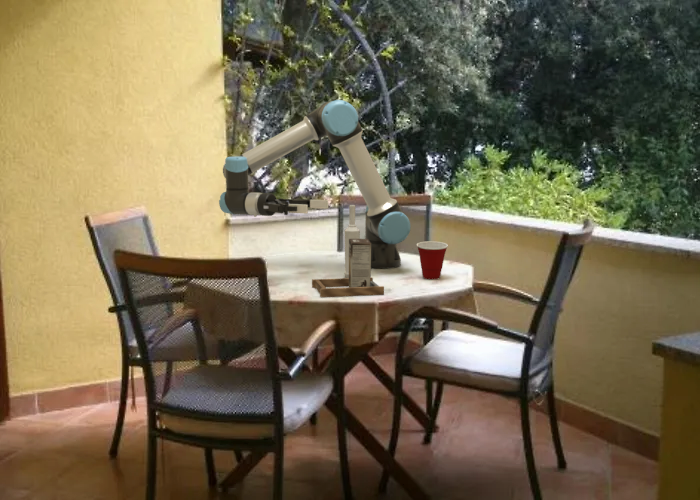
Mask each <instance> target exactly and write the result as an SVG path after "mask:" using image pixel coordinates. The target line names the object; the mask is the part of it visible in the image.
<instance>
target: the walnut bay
mask: <svg viewBox="0 0 700 500" xmlns="http://www.w3.org/2000/svg"><path fill="white" fill-rule="evenodd" d="M311 288H313V289H316V291H317V292H318V293H319V298H335V297H337V298H338V297H361V296H362V297H363V296H364V297H365V296H385V286H383V285H378V284H377V283H376V282H375V281H374V277H372V276H371V277H370V287H349V278H345V277H344V278H340V277H339V278H338V277H337V278H316V279H315V278H314V279H311Z"/></svg>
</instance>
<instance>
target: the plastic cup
mask: <svg viewBox="0 0 700 500" xmlns="http://www.w3.org/2000/svg"><path fill="white" fill-rule="evenodd" d="M415 245H416V247H417V251H418V254H419V255H418V256H419V260H420V261H419V263H420V268H421V273H422V278H423V279H424V280H438V278H439V279H440V278H441V275H442V274H441V273H442V270H443V265H444V260H445V256H446V255H445V254H446V252H447V248H449V247H448V246H449V245H448V243H446V242H442V241H435V240H434V241H433V240H432V241H431V240H430V241H427V240H426V241H421V242H417V243H416V244H415Z"/></svg>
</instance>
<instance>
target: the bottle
mask: <svg viewBox="0 0 700 500" xmlns="http://www.w3.org/2000/svg"><path fill="white" fill-rule="evenodd" d="M348 210H349V217H348V218H349V220H348V221H349V224H348V226H347V227H346V229H345V230H344V273H343V274H344V275H343V276H344V278H349V239H361V238H360V237H361V236H360V235H361V234H360V233H361V232H360V231H361V230H360V229H359V228H358V227H357V225H356V205H355V204H350V205H349V209H348Z"/></svg>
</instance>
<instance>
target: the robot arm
mask: <svg viewBox="0 0 700 500" xmlns="http://www.w3.org/2000/svg"><path fill="white" fill-rule="evenodd" d="M363 131H364V130H363V128H362V126H361V124H360V122H359V114H358V111H357V110H356V108H355V107H354V106H353V105H352V104H351V103H349V101H346V100H342V99H335V100H329V101H326V102H324V103H323V104H321V105H320V106H319V107H317V108H316V109H315V110H312V111H311V112H310V113H308V114H305V115H304V117H303V120H301V121H300V122H298V123H297V124H295V125H293V126H291V127H289V128H287V129H286V130H284V131H282V132H280V133H278V134H277V135H274V136H273V137H271V138H269V139H267V140H265V141H264V142H262V143H260V144H258V145H256V146H254V147H253V148H251V149H249V150H247V151H245V152H243V153H242V154H241V155H239V156H227V157H226V158H225V163H224V165H223V167H222V174H223V177H224V179H225V183H226V184H225V186H226V187H225V189H226V190H225V191H223V192H222V193H221V195H220V197H219V200H218V205H219V209H220V210H221V211H222V212H223V213H225V214H229V215H243V216H244V215H245V216H247V215H248V216H253V217H254V218H256V217H257V216H265V217H266V216H267V217H273V216H274V215H275V214H276V213H278V214H284V216H288V215H289V214H308V212H309V211H308V208H310V209H325V210H326V209H327V210H328V209H329V200H327V199H314V198H313V197H309V198H295V199H294V198H293V199H291V198H278V199H277V197H276V195H275V194H274V193H272V192H271V193H270V192H249V176H250V175H252V174H254V173H255V172H257V171H259V170H260V169H263V168H264V167H266V166H268V165H270V164H271V163H273V162H275V161H277V160H279V159H280V158H281V159H282V157H284V156H286V155H288V154H289V153H292V152H294V151H295V150H297V149H298V148H301V147H302V146H304V145H306V144H307V143H309V142H312V141H313V140H315V141H319V140H321V139H322V138H323V139H324V138H325V137H327V138H328V139H329V141H330V144H331V145H332V147H336V148H338V149H339V152H340V153H341V155H342V158H343V160H344V162H345V165H346V166H347V168H348V170H349V173H351V176H352V178H353V180H354V182H355V184H356V186H357V188H358V190H359V192H360V194H361V195H362V198H363V200H364V201H365V204H366V206H365V211H364V214H365V235H364V237H365V238H364V239H368V240H369V241H370V243H371V269H391V268H392V269H394V268H397V267H400V266H401V265H402V262H401V261H402V258H401V256H400V252H399V248H398V247H397V245H398V244H401V243H402V242H404V241H405V240H406V239H407V237H408V236H409V234H410V232H411V227H412V226H411V221H410V219H409V217H408V216H407V215H406V214H405V213H403V210H402V208H401V206H400V204H399V203H398V201H397V199H395V198H392V197H391V195H390V193H389V191H388V190H387V188H386V185H385V184H384V181H383V180H382V177H381V176H380V173H379V171H378V169H377V167H376V165H375V162H374V161H373V159H372V157H371V154H370V153H369V151H368V149H367V147H366V145H365V142H364V140H363V138H362V134H363Z"/></svg>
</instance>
